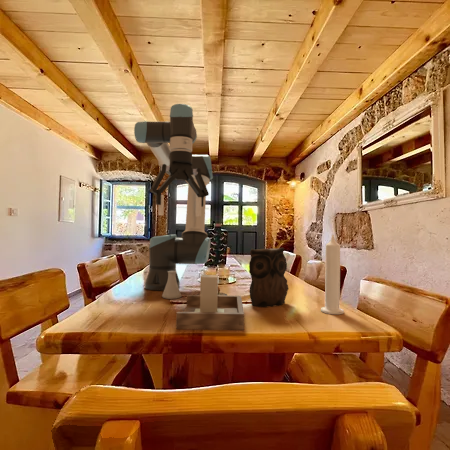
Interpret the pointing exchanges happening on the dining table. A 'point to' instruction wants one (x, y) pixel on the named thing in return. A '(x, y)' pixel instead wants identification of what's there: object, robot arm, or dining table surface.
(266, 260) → the owl
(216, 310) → the block
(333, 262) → the candle
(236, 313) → the shallow rimmed tray
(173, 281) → the flask
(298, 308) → the dining table surface
